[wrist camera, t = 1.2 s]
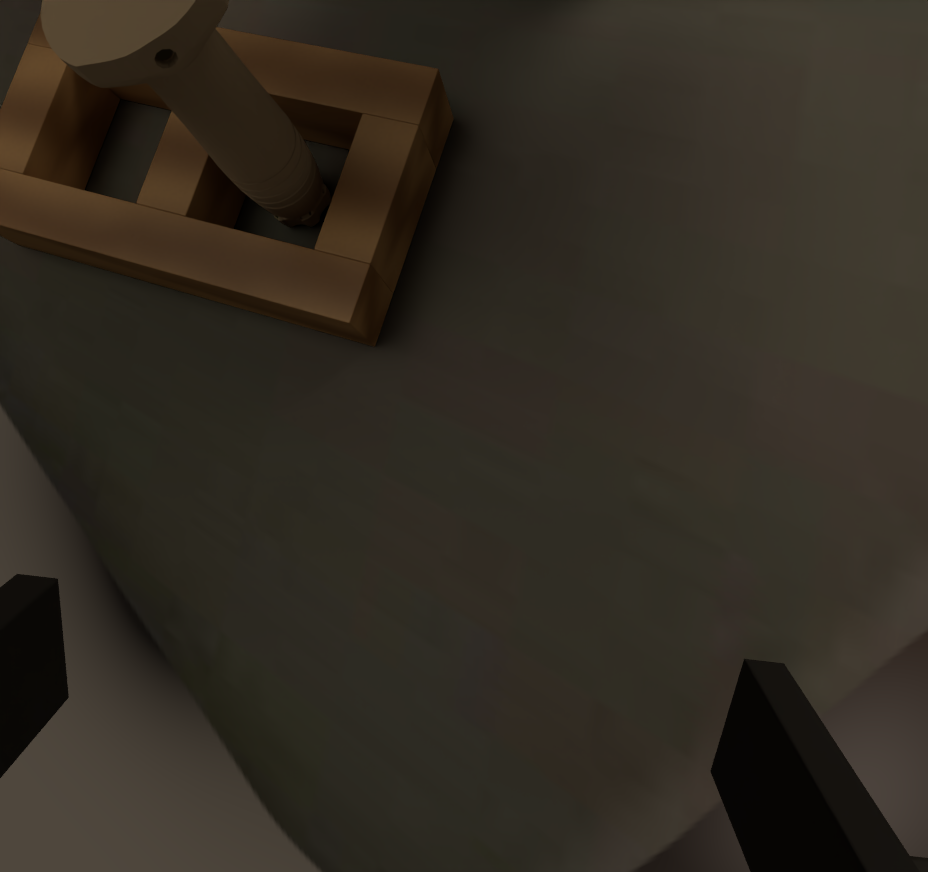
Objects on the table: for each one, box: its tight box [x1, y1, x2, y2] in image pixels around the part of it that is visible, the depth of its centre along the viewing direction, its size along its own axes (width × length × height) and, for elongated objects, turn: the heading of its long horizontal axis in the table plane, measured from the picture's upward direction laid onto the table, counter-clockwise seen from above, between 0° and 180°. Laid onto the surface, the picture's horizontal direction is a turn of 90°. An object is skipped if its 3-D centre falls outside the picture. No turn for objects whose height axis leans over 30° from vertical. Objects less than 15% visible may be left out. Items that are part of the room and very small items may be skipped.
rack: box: [0, 12, 454, 347], centre depth 36 cm, size 13×23×4 cm, turn 72°
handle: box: [41, 0, 331, 227], centre depth 30 cm, size 5×6×15 cm
